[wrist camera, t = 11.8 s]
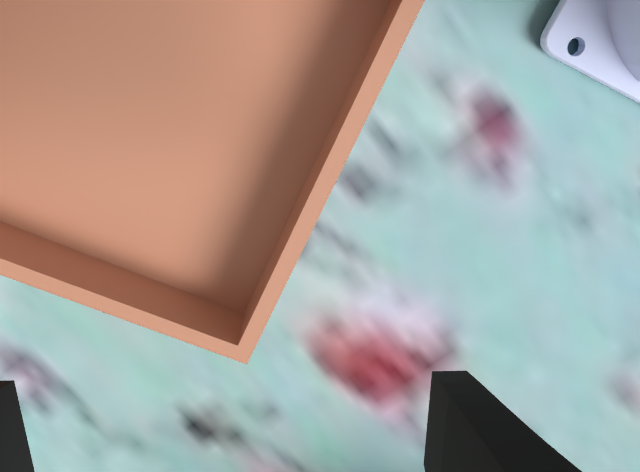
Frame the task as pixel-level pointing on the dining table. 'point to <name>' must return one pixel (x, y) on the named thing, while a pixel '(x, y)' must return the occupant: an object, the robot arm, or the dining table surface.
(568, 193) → the dining table surface
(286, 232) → the terracotta tray
